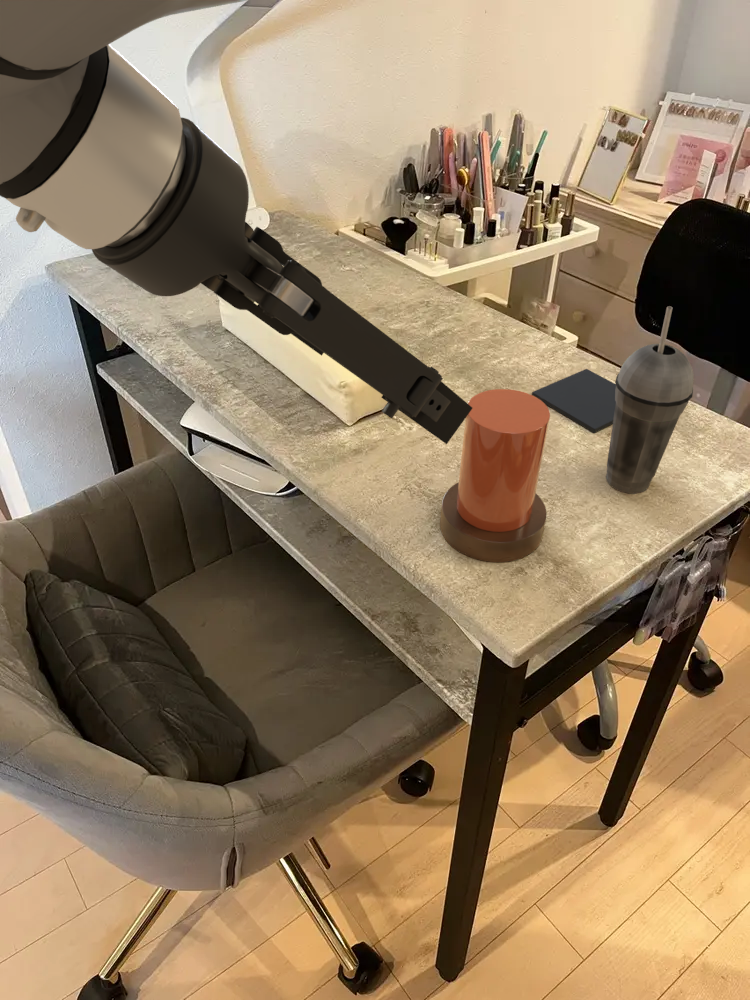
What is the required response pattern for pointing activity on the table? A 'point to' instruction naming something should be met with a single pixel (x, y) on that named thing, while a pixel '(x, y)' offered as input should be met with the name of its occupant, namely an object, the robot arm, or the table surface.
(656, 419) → the beverage cup
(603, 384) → the mat
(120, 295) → the table surface
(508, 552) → the saucer
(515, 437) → the terracotta cylinder
